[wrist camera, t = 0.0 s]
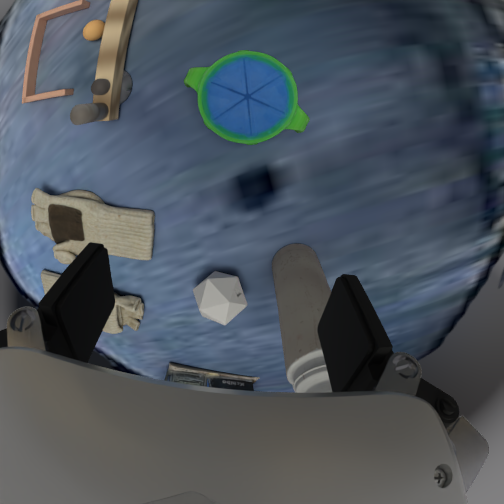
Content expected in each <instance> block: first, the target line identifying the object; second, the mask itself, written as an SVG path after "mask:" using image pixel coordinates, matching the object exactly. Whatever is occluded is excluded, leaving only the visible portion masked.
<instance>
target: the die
mask: <svg viewBox="0 0 504 504" xmlns="http://www.w3.org/2000/svg"><path fill="white" fill-rule="evenodd" d="M193 293H194V296H195V299H196V302H197V305H198V307H199V310H200V312H201V314H202V316H203V317H206V318H208V319H210V320H213V321H215V322H218V323H220V324H223V325H226V324H227V323H228V322H229V321H230V320H232V319H233V318H234V317H235V316H236V315H237V314H238V313H239V312H241V311H242V310H243V309H244V308H245V307H246V306H247V302H246V299H245V296H244V293H243V290H242V287H241V285H240V282H239V279H238V277H236V276H232V275H229V274H225V273H221V272H217V271H214V272H213V273H212V274H211V275H209V276H208V277H207V278H206V279H205V280H203V281H202V282H201V283H200V284H199V285H198V286H196V287H195V288H194V289H193Z"/></svg>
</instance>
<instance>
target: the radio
mask: <svg viewBox="0 0 504 504" xmlns="http://www.w3.org/2000/svg"><path fill="white" fill-rule="evenodd" d="M257 379H259V378H258V377H251V376H243V375H236V374H229V373H223V372H217V371H211V370H205V369H200V368H194V367H189V366H184V365H180V364H175V363H169V369H168V371H167V374H166V377H165V380H164V381H169V382H176V383H182V384H189V385H196V386H204V387H212V388H221V389H232V390H245V391H254V389H253V383H254V382H256V380H257Z"/></svg>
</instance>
